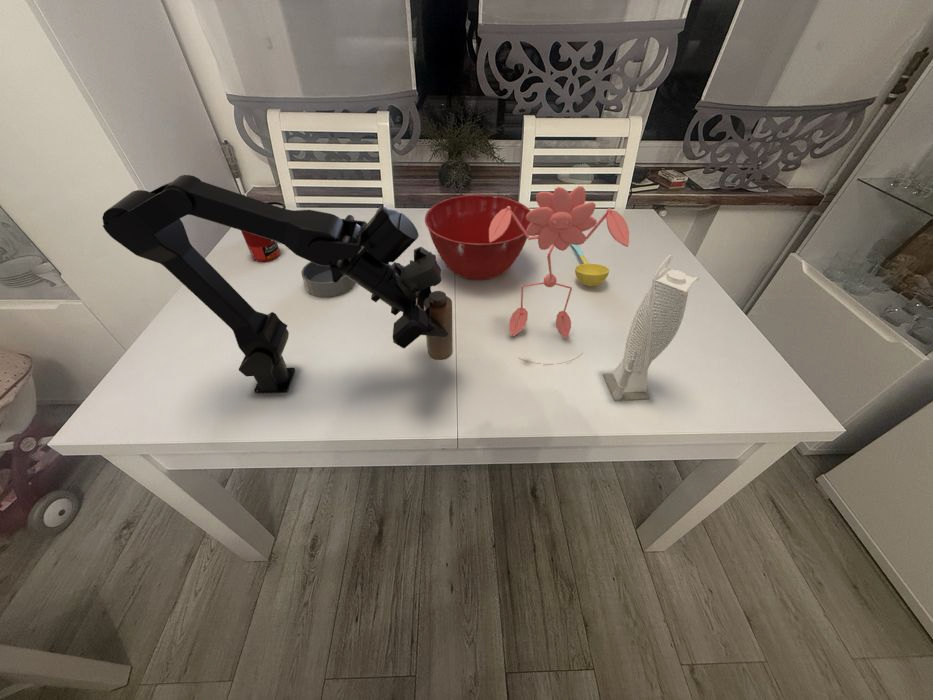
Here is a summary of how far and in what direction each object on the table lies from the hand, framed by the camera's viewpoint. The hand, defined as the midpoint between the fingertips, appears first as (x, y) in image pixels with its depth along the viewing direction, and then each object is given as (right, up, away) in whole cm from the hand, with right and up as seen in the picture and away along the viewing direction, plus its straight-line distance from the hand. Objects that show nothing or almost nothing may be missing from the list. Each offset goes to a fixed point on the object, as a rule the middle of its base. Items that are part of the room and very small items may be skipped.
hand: (446, 325), depth 72 cm
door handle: (-28, +31, +51) cm, 66 cm away
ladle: (+37, +20, +40) cm, 58 cm away
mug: (-55, +32, +51) cm, 82 cm away
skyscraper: (+37, -12, +8) cm, 39 cm away
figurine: (+20, -3, +17) cm, 26 cm away
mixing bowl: (+7, +19, +39) cm, 44 cm away
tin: (-33, +13, +33) cm, 48 cm away
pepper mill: (-1, -5, +5) cm, 7 cm away
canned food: (-55, +23, +43) cm, 74 cm away
